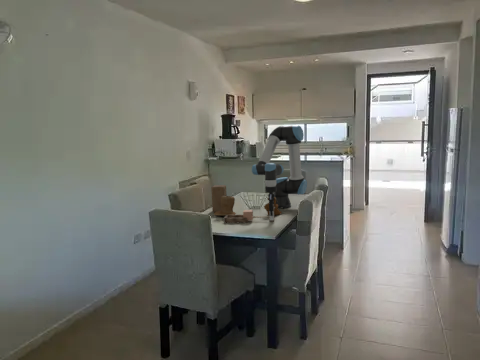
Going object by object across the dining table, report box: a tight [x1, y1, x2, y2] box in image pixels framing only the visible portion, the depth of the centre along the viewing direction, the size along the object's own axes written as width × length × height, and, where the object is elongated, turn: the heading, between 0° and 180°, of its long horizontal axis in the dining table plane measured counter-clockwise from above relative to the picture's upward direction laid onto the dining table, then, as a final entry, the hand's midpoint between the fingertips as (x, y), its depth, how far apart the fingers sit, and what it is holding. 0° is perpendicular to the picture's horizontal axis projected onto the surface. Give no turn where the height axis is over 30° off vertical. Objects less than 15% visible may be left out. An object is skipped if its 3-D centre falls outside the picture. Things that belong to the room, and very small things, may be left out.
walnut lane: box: [223, 214, 249, 224], centre depth 279 cm, size 16×10×4 cm, turn 82°
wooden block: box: [210, 184, 228, 213], centre depth 315 cm, size 10×10×20 cm
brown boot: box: [213, 195, 237, 217], centre depth 298 cm, size 15×12×15 cm
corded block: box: [242, 204, 275, 222], centre depth 276 cm, size 21×6×11 cm, turn 82°
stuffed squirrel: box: [263, 197, 282, 216], centre depth 292 cm, size 10×14×13 cm
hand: (272, 219), depth 276 cm, fingers closed on corded block, 5 cm apart
